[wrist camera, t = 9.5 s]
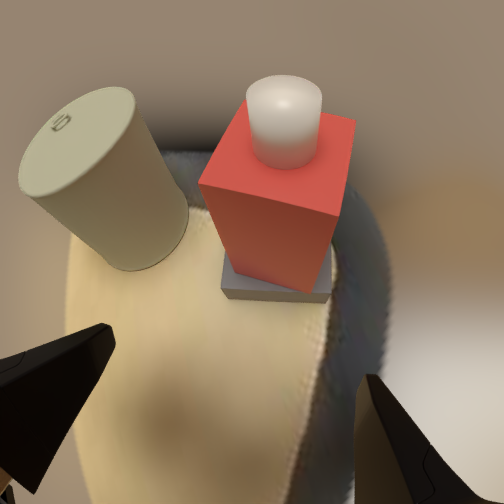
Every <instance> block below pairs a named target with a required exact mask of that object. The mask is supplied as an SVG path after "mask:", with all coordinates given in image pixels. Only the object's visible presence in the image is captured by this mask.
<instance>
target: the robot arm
mask: <svg viewBox="0 0 504 504" xmlns="http://www.w3.org/2000/svg"><path fill="white" fill-rule="evenodd" d="M115 346H116V342H115V338H114V334H113V330H112V327H111V326H110V325H107V324H104V323H100V324H97V325H94V326H92V327H89V328H86V329H84V330H81V331H78V332H76V333H73V334H70V335H68V336H65V337H62V338H60V339H57V340H54V341H52V342H49V343H46V344H43V345H41V346H38V347H35V348H33V349H30V350H28V351H24V352H22V353H19V354H16V355H13V356H10V357H7V358H4V359H0V504H15V500H14V494H13V489H12V486H11V485H10V484H9V483H10V482H11V480H12V479H14V480H16V481H17V482H18V483H19V484H20V485H22V486H23V487H24V488H25V489H27V490H28V491H29V492H31V493H32V494H33V495H34V494H35V493H36V491H37V489H38V487H39V485H40V483H41V481H42V479H43V477H44V475H45V473H46V471H47V469H48V467H49V466H50V464H51V462H52V460H53V458H54V456H55V454H56V452H57V450H58V449H59V447H60V445H61V443H62V441H63V440H64V438H65V436H66V434H67V433H68V431H69V429H70V427H71V426H72V424H73V422H74V421H75V419H76V417H77V415H78V414H79V412H80V410H81V409H82V407H83V405H84V404H85V402H86V400H87V399H88V397H89V395H90V394H91V392H92V391H93V389H94V387H95V386H96V384H97V382H98V381H99V379H100V377H101V375H102V373H103V371H104V369H105V367H106V365H107V363H108V361H109V359H110V357H111V355H112V353H113V351H114V349H115ZM354 463H355V501H354V504H504V503H498V502H492V501H488V500H485V499H483V498H481V497H479V496H478V495H476V494H475V493H474V492H473V491H472V490H471V489H470V488H469V487H468V486H467V485H466V484H465V483H464V482H463V481H462V479H461V478H460V477H459V476H458V475H457V474H456V473H455V472H454V471H453V470H452V469H451V468H450V467H449V466H448V465H447V463H446V462H445V461H444V460H443V459H442V457H441V456H440V455H439V454H438V452H437V451H436V450H435V448H434V447H433V446H432V445H430V442H429V441H428V439H427V438H426V437H425V435H424V434H423V433H422V431H421V430H420V429H419V428H418V426H417V425H416V424H415V423H414V421H413V420H412V418H411V417H410V416H409V415H408V413H407V412H406V411H405V409H404V408H403V407H402V406H401V404H400V403H399V402H398V400H397V399H396V398H395V397H394V395H393V394H392V393H391V391H390V390H389V389H388V388H387V386H386V385H385V384H384V383H383V381H382V380H381V379H380V378H379V376H378V375H376V374H365V375H364V377H363V379H362V381H361V383H360V386H359V388H358V390H357V394H356V410H355V424H354Z"/></svg>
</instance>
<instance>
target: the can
mask: <svg viewBox="0 0 504 504" xmlns="http://www.w3.org/2000/svg"><path fill="white" fill-rule="evenodd" d="M18 181H19V186H20V188H21V190H22V192H23V193H24V194H25V195H27V196H28V197H30V198H31V199H33V200H34V201H35V202H36V203H37V204H39V205H40V206H41V207H42V208H43V209H45V210H46V211H47V212H48V213H49V214H51V215H52V216H53V217H54V218H55V219H57V220H58V221H59V222H60V223H61V224H63V225H64V226H65V227H66V228H68V229H69V230H70V231H71V232H72V233H74V234H75V235H76V236H77V237H79V238H80V239H81V240H82V241H84V242H85V243H86V244H87V245H89V246H90V247H91V248H92V249H94V250H95V251H96V252H97V253H99V254H100V255H101V256H102V257H103V258H104V259H105V261H106V262H107V263H109V264H110V265H111V266H113V267H115V268H117V269H120V270H125V271H137V270H142V269H145V268H148V267H151V266H153V265H155V264H157V263H158V262H160V261H161V260H163V259H164V258H165V257H166V256H168V255H169V254H170V253H171V252H172V251H173V249H174V248H175V247H176V246H177V244H178V243H179V242H180V240H181V238H182V236H183V234H184V232H185V229H186V226H187V222H188V214H189V213H188V204H187V200H186V198H185V195H184V194H183V192H182V191H181V190H180V188H179V187H178V186H177V184H176V183H175V181H174V179H173V177H172V175H171V174H170V172H169V170H168V168H167V166H166V164H165V162H164V160H163V158H162V156H161V154H160V152H159V150H158V149H157V146H156V144H155V142H154V140H153V138H152V136H151V134H150V132H149V130H148V128H147V126H146V124H145V122H144V120H143V117H142V115H141V113H140V111H139V109H138V106H137V104H136V100H135V97H134V95H133V94H132V93H131V92H130V91H129V90H127V89H125V88H121V87H107V88H102V89H99V90H95V91H93V92H90V93H87V94H85V95H83V96H81V97H79V98H78V99H76V100H74V101H73V102H71V103H69V104H68V105H67V106H65V107H64V108H62V109H61V110H60V111H59V112H57V113H56V114H55V115H54V116H53V117H52V118H51V119H50V120H49V121H48V122H47V123H46V124H45V125H44V126H43V127H42V128H41V130H40V131H39V132H38V133H37V134H36V136H35V137H34V138H33V140H32V142H31V143H30V145H29V146H28V148H27V150H26V152H25V154H24V156H23V158H22V161H21V165H20V168H19V176H18Z"/></svg>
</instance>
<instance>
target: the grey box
mask: <svg viewBox="0 0 504 504" xmlns="http://www.w3.org/2000/svg"><path fill="white" fill-rule="evenodd" d="M221 289H222V291H223V292H224V294H225V295H226V297H227V298H228V299H241V300H257V301H276V302H299V303H326V302H327V300H328V298H329V297H330V295H331V241H330V244H329V246H328V249H327V252H326V255H325V257H324V260H323V263H322V266H321V268H320V271H319V273H318V276H317V279H316V281H315V284H314V287H313V289H312V292H311V294H308V293H304V292H301V291H297V290H294V289H290V288H287V287H283V286H280V285H276V284H273V283H269V282H266V281H262V280H259V279H255V278H252V277H249V276H245V275H242V274H239V273H235V272H234V269H233V267H232V265H231V262H230V260H229V258H228V255H227V253H226V251H225V257H224V265H223V273H222V281H221Z"/></svg>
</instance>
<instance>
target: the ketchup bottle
mask: <svg viewBox="0 0 504 504" xmlns="http://www.w3.org/2000/svg"><path fill="white" fill-rule="evenodd" d="M321 103H322V94H321V91H320V90H319V88H318V87H317V86H316V85H315V84H313V83H312V82H310V81H308V80H306V79H303V78H300V77H297V76H290V75H277V76H270V77H266V78H263V79H260V80H258V81H257V82H255V83H253V84H252V85H251V86H250V87H249V89H248V90H247V93H246V100H244V101H243V103H242V105H241V106H240V108H239V110H238V111H237V113H236V115H235V116H234V118H233V120H232V121H231V123H230V125H229V127H228V128H227V130H226V132H225V134H224V136H223V137H222V139H221V141H220V143H219V144H218V146H217V148H216V150H215V151H214V153H213V155H212V157H211V159H210V161H209V162H208V164H207V166H206V168H205V170H204V172H203V174H202V176H201V177H200V179H199V181H198V185H199V188H200V190H201V193H202V195H203V198H204V200H205V203H206V205H207V208H208V210H209V212H210V215H211V217H212V220H213V222H214V224H215V227H216V229H217V232H218V234H219V236H220V239H221V241H222V244H223V246H224V248H225V251H226V253H227V255H228V258H229V260H230V262H231V265H232V267H233V269H234V272H235V273H239V274H242V275H245V276H249V277H252V278H255V279H259V280H262V281H266V282H269V283H273V284H276V285H280V286H283V287H287V288H290V289H294V290H297V291H301V292H304V293H308V294H311V292H312V289H313V287H314V284H315V281H316V279H317V276H318V273H319V271H320V268H321V266H322V263H323V260H324V257H325V255H326V252H327V249H328V246H329V244H330V241H331V238H332V235H333V232H334V229H335V227H336V224H337V221H338V218H339V214H340V209H341V204H342V199H343V194H344V189H345V184H346V179H347V173H348V168H349V162H350V156H351V150H352V144H353V137H354V131H355V124H356V120H352V119H348V118H344V117H340V116H336V115H332V114H327V113H323V112H321Z"/></svg>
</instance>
